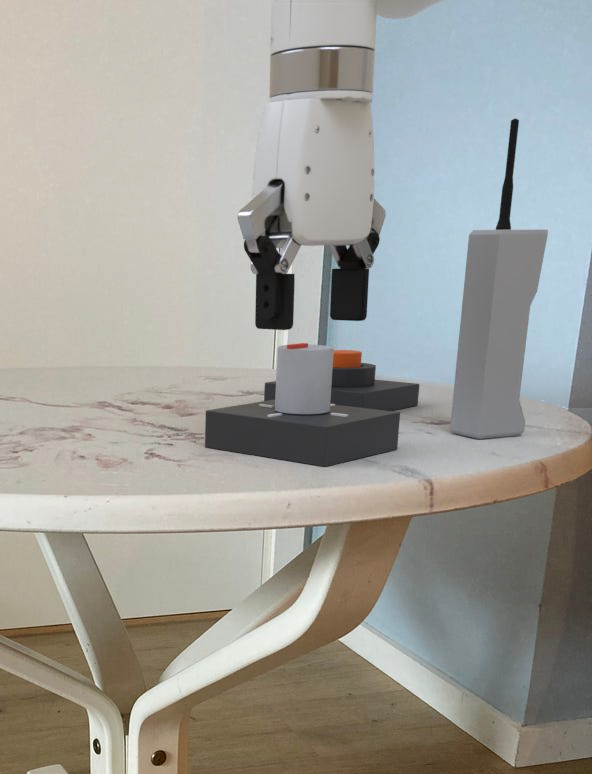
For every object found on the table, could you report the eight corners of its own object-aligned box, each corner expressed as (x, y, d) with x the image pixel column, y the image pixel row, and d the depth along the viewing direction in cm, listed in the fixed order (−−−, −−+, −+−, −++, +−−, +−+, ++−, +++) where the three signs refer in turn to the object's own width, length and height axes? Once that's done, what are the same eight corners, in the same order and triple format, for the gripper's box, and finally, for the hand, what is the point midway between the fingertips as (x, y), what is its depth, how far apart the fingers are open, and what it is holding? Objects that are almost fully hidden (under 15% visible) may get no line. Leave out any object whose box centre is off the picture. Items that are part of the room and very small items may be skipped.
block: (417, 405, 113) (421, 365, 111) (362, 416, 106) (365, 374, 105) (320, 394, 121) (323, 357, 119) (263, 404, 114) (265, 364, 113)
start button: (367, 369, 112) (368, 351, 112) (347, 372, 110) (348, 354, 109) (337, 366, 115) (339, 349, 114) (317, 369, 112) (318, 351, 112)
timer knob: (295, 405, 92) (298, 339, 90) (340, 410, 89) (344, 342, 87) (263, 410, 89) (266, 343, 87) (309, 416, 86) (313, 346, 84)
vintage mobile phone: (524, 435, 95) (562, 117, 87) (477, 439, 94) (512, 114, 85) (494, 429, 99) (528, 121, 90) (449, 433, 97) (479, 119, 88)
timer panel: (397, 449, 89) (400, 410, 88) (325, 466, 83) (327, 424, 82) (279, 432, 98) (280, 396, 96) (204, 447, 91) (205, 408, 90)
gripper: (345, 95, 89) (336, 315, 95) (204, 80, 78) (203, 331, 84) (428, 85, 84) (413, 318, 90) (290, 67, 73) (283, 335, 79)
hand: (312, 324), depth 87 cm, fingers open, 9 cm apart
